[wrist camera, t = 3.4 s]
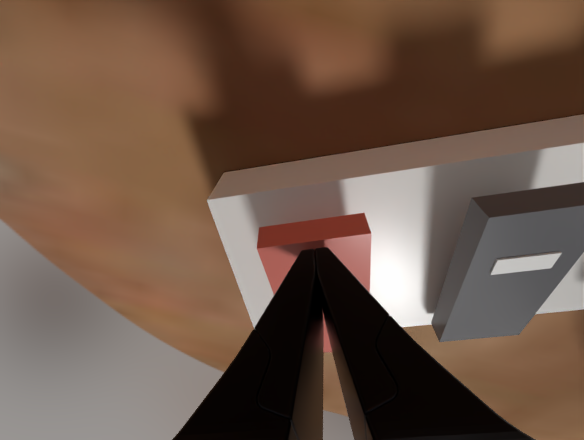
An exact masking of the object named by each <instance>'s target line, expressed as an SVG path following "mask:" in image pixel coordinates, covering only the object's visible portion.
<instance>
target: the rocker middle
mask: <svg viewBox="0 0 584 440" xmlns="http://www.w3.org/2000/svg"><path fill="white" fill-rule="evenodd" d="M583 252H584V182H580V183H573V184H566V185H559V186H552V187H544V188H537V189H530V190H523V191H516V192H509V193H501V194H494V195H487V196H480V197H473V198H471V201H470V204H469V207H468V210H467V213H466V216H465V219H464V222H463V225H462V229H461V232H460V235H459V238H458V241H457V244H456V247H455V250H454V253H453V256H452V259H451V263H450V266H449V269H448V272H447V275H446V278H445V281H444V284H443V287H442V290H441V293H440V297H439V300H438V303H437V306H436V309H435V312H434V315H433V318H432V321H431V323H432V326H433V328H434V330H435V333H436V335H437V337H438V340H439V342H444V341H455V340H466V339H477V338H488V337H499V336H510V335H519V334H520V333H521V331H522V330H523V329H524V328H525V326H526V325H527V324H528V323H529V321H530V320H531V319H532V317H533V316H534V315H535V314H536V312H537V311H538V310H539V308H540V307H541V306H542V305H543V303H544V302H545V301H546V300H547V298H548V297H549V296H550V294H551V293H552V292H553V291H554V289H555V288H556V287H557V286H558V284H559V283H560V282H561V280H562V279H563V278H564V277H565V275H566V274H567V273H568V272H569V270H570V269H571V268H572V266H573V265H574V264H575V263H576V261H577V260H578V259H579V258H580V256H581V255H582V254H583Z"/></svg>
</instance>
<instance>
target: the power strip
mask: <svg viewBox="0 0 584 440" xmlns="http://www.w3.org/2000/svg"><path fill="white" fill-rule="evenodd" d="M580 182H584V114H583V115H576V116H570V117H564V118H558V119H552V120H546V121H539V122H533V123H527V124H521V125H515V126H508V127H502V128H496V129H490V130H484V131H478V132H471V133H465V134H459V135H453V136H447V137H440V138H434V139H428V140H422V141H416V142H410V143H403V144H397V145H391V146H385V147H379V148H373V149H366V150H360V151H354V152H348V153H342V154H335V155H329V156H323V157H317V158H311V159H305V160H298V161H292V162H286V163H280V164H274V165H267V166H261V167H255V168H249V169H243V170H237V171H230V172H224V173H223V175H222V176H221V178H220V180H219V181H218V183H217V184H216V186H215V188H214V189H213V191H212V192H211V194H210V196H209V197H208V199H207V202H208V205H209V208H210V210H211V213H212V216H213V218H214V221H215V224H216V227H217V229H218V232H219V235H220V237H221V240H222V243H223V245H224V248H225V251H226V254H227V256H228V259H229V262H230V264H231V267H232V270H233V272H234V275H235V278H236V281H237V283H238V286H239V289H240V291H241V294H242V297H243V299H244V302H245V305H246V308H247V310H248V313H249V316H250V318H251V321H252V324H253V326H254V327H255V326H256V324H257V322H258V321H259V319H260V318H261V316H262V314H263V313H264V311H265V309H266V308H267V306H268V304H269V303H270V301H271V299H272V298H273V296H274V294H273V291H272V288H271V286H270V283H269V280H268V278H267V275H266V272H265V269H264V267H263V264H262V261H261V259H260V256H259V253H258V251H257V241H258V232H259V227H265V226H272V225H279V224H287V223H294V222H301V221H308V220H315V219H322V218H330V217H337V216H344V215H351V214H358V213H365V216H366V219H367V222H368V225H369V228H370V231H371V267H370V294H371V295H372V296H373V297H374V298H375V299H376V300H377V301H378V302H379V303H380V305H381V306H382V307H383V308H384V309H385V310H386V311H387V312H388V313H389V316H392V317H393V319H394V320H395V321H396V322H397V323H398V324H399V325H400V326H401V327H409V326H419V325H429V324H432V323H431V321H432V318H433V315H434V312H435V309H436V306H437V303H438V300H439V297H440V293H441V290H442V287H443V284H444V281H445V278H446V275H447V272H448V269H449V266H450V263H451V259H452V256H453V253H454V250H455V247H456V244H457V241H458V238H459V235H460V232H461V229H462V225H463V222H464V219H465V216H466V213H467V210H468V207H469V204H470V201H471V198H473V197H480V196H487V195H494V194H501V193H509V192H516V191H523V190H530V189H537V188H544V187H552V186H559V185H566V184H573V183H580ZM582 309H584V252H583V254H582V255H581V256H580V258H579V259H578V260H577V261H576V263H575V264H574V265H573V266H572V268H571V269H570V270H569V272H568V273H567V274H566V275H565V277H564V278H563V279H562V280H561V282H560V283H559V284H558V286H557V287H556V288H555V289H554V291H553V292H552V293H551V294H550V296H549V297H548V298H547V300H546V301H545V302H544V303H543V305H542V306H541V307H540V308H539V310H538V311H537V312H536V314H541V313H552V312H562V311H572V310H582Z"/></svg>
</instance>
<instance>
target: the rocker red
mask: <svg viewBox="0 0 584 440" xmlns="http://www.w3.org/2000/svg"><path fill="white" fill-rule="evenodd" d="M321 247H328V248H329V249H330V250H331V251H332V252H333V253H334V254H335V255H336V256H337V257H338V259H339V260H340V261H341V262H342V263H343V264H344V265H345V266H346V267H347V268H348V270H349V271H350V272H351V273H352V274H353V275H354V276H355V277H356V278H357V279H358V280H359V282H360V283H361V284H362V285H363V286H364V287H365V288H366V289H367V290H368V291H369V293H370V267H371V231H370V228H369V225H368V222H367V219H366V216H365V213H358V214H351V215H344V216H337V217H330V218H322V219H315V220H308V221H301V222H294V223H287V224H279V225H272V226H265V227H259V232H258V241H257V251H258V253H259V256H260V259H261V261H262V264H263V267H264V269H265V272H266V275H267V278H268V280H269V283H270V286H271V288H272V291H273V294H275V293H276V291H277V290H278V288H279V286H280V285H281V283H282V281H283V280H284V278H285V276H286V275H287V273H288V271H289V270H290V268H291V267H292V265H293V263H294V262H295V260H296V258H297V257H298V255H299V253H300V252H301V251H302V250H306V249H314V250H315V249H316V248H321ZM323 318H324V314H323ZM324 352H332V349H331V345H330V341H329V337H328V333H327V329H326V324H325V320H324V348H323V353H324Z"/></svg>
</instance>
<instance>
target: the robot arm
mask: <svg viewBox="0 0 584 440" xmlns="http://www.w3.org/2000/svg"><path fill="white" fill-rule="evenodd" d="M323 314H324V318H323ZM324 320H325V324H326V329H327V333H328V337H329V341H330V345H331V349H332V353H333V357H334V360H335V364H336V368H337V372H338V376H339V380H340V384H341V388H342V392H343V396H344V400H345V404H346V408H347V412H348V416H349V420H350V424H351V428H352V432H353V436H354V440H535V439H533V438H532V437H530V436H528V435H527V434H525V433H523V432H522V431H520V430H519V429H517V428H516V427H514V426H513V425H511V424H510V423H508V422H507V421H506V420H504V419H503V418H502V417H500V416H499V415H498V414H497V413H495V412H494V411H493V410H492V409H491V408H490V407H488V406H487V405H486V404H485V403H484V402H483V401H482V400H480V399H479V398H478V397H477V396H476V395H475V394H474V393H472V392H471V391H470V390H469V389H468V388H467V387H466V386H464V385H463V384H462V383H461V382H460V381H459V380H458V379H456V378H455V377H454V376H453V375H452V374H451V373H450V372H448V371H447V370H446V369H445V368H444V367H443V366H442V365H441V364H439V363H438V362H437V361H436V360H435V359H434V358H433V357H432V356H430V355H429V354H428V353H427V352H426V351H425V350H424V349H423V348H422V347H421V346H420V345H418V344H417V343H416V342H415V341H414V340H413V339H412V338H411V337H410V336H409V335H408V334H407V332H406V331H405V330H404V329H403V328H402V327H401V326H400V325H399V324H398V323H397V322H396V321H395V320H394V319H393V317H392V316H389V313H388V312H387V311H386V310H385V309H384V308H383V307H382V306H381V305H380V303H379V302H378V301H377V300H376V299H375V298H374V297H373V296H372V295H371V294H370V293H369V291H368V290H367V289H366V288H365V287H364V286H363V285H362V284H361V283H360V282H359V280H358V279H357V278H356V277H355V276H354V275H353V274H352V273H351V272H350V271H349V270H348V268H347V267H346V266H345V265H344V264H343V263H342V262H341V261H340V260H339V259H338V257H337V256H336V255H335V254H334V253H333V252H332V251H331V250H330V249H329V248H328V247H321V248H316V249H315V250H314V249H306V250H302V251H301V252H300V253H299V255H298V257H297V258H296V260H295V262H294V263H293V265H292V267H291V268H290V270H289V271H288V273H287V275H286V276H285V278H284V280H283V281H282V283H281V285H280V286H279V288H278V290H277V291H276V293H275V294H274V296H273V298H272V299H271V301H270V303H269V304H268V306H267V308H266V309H265V311H264V313H263V314H262V316H261V318H260V319H259V321H258V322H257V324H256V326H255V327H254V329H255V330H252V332H251V334H250V335H249V337H248V339H247V340H246V342H245V343H244V345H243V346H242V348H241V350H240V351H239V353H238V354H237V356H236V357H235V359H234V360H233V361H232V363H231V364H230V366H229V367H228V368H227V370H226V371H225V372H224V374H223V375H222V377H221V378H220V379H219V381H218V382H217V383H216V384H215V386H214V387H213V389H212V390H211V391H210V392H209V394H208V395H207V396H206V398H205V399H204V400H203V402H202V403H201V404H200V406H199V407H198V408H197V409H196V411H195V412H194V413H193V415H192V416H191V417H190V419H189V420H188V421H187V423H186V424H185V425H184V426H183V428H182V429H181V430H180V431H179V433H178V434H177V435H176V436H175V437H174V438H173V439H172V440H323V348H324Z"/></svg>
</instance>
